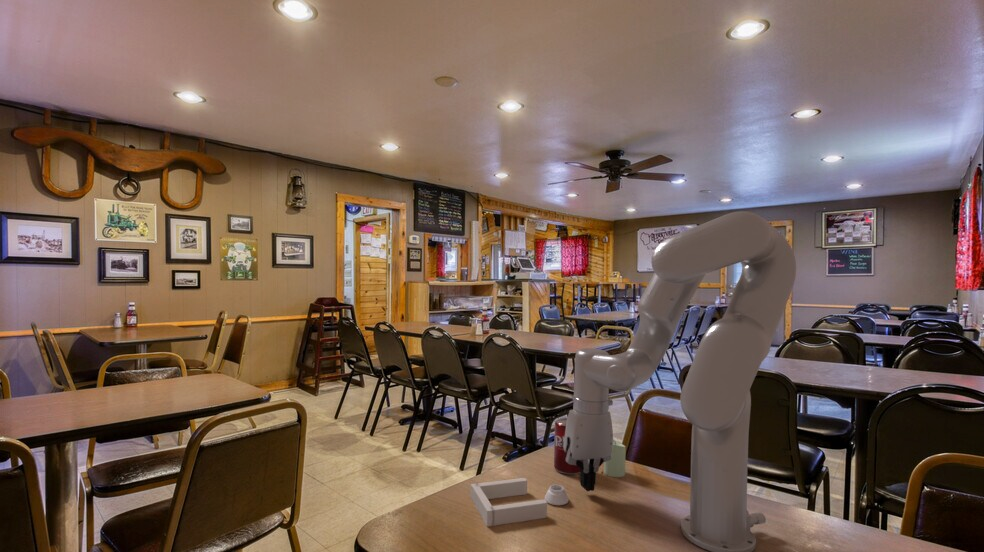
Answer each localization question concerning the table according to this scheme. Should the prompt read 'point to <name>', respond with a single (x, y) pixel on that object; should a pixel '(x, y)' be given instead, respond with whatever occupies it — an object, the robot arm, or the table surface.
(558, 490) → the white jar
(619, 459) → the candle
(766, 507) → the table surface
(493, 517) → the bay
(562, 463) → the soda can
